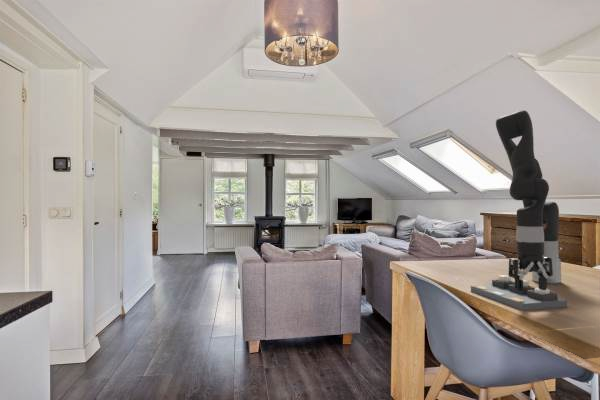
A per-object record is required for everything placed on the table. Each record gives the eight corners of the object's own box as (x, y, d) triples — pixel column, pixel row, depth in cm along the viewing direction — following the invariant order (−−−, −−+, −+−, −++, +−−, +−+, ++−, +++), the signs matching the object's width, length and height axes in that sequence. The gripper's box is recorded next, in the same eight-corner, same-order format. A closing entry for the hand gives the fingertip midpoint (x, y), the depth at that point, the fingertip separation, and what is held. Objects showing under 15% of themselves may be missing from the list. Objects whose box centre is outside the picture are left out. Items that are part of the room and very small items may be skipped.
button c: (542, 293, 113) (541, 287, 113) (552, 296, 109) (552, 290, 109) (531, 294, 113) (531, 288, 113) (542, 297, 109) (542, 291, 109)
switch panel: (508, 288, 131) (507, 278, 132) (567, 306, 108) (566, 294, 108) (470, 291, 129) (470, 280, 129) (523, 310, 105) (522, 297, 105)
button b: (522, 285, 121) (522, 279, 121) (531, 287, 117) (531, 281, 117) (512, 285, 120) (512, 280, 120) (521, 288, 117) (521, 282, 117)
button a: (505, 280, 129) (504, 274, 129) (513, 282, 125) (513, 277, 125) (495, 280, 128) (495, 275, 128) (503, 283, 124) (503, 277, 124)
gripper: (538, 238, 115) (540, 286, 115) (501, 239, 113) (502, 288, 113) (559, 240, 108) (560, 291, 108) (520, 242, 106) (521, 294, 105)
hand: (531, 290), depth 110 cm, fingers open, 8 cm apart
